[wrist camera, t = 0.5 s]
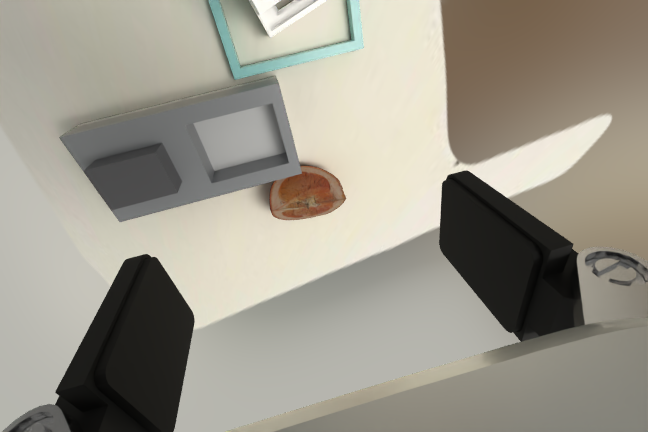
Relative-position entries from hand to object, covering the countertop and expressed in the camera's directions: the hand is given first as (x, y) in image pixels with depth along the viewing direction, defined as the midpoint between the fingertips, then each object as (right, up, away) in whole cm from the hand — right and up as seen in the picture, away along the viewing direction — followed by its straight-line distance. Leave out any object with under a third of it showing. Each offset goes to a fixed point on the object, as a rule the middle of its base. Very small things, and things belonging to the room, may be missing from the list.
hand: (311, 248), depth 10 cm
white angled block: (-3, +21, +17) cm, 27 cm away
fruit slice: (-2, +5, +27) cm, 28 cm away
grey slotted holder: (-13, +9, +22) cm, 27 cm away
